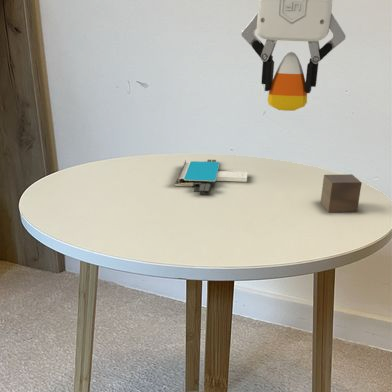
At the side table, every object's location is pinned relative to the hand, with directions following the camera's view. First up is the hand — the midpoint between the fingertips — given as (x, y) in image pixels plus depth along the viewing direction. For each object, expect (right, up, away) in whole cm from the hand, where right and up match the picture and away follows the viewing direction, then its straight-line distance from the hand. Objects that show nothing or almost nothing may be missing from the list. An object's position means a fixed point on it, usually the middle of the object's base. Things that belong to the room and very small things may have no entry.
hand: (288, 89), depth 90 cm
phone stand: (-11, -10, +13) cm, 20 cm away
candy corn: (0, -3, +2) cm, 3 cm away
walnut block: (+8, -18, 0) cm, 19 cm away
